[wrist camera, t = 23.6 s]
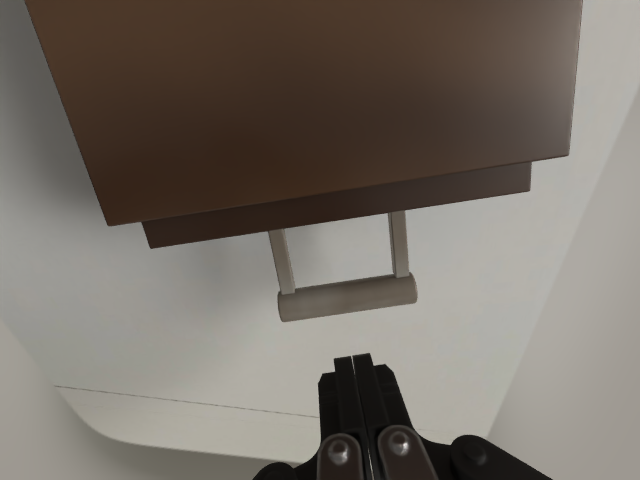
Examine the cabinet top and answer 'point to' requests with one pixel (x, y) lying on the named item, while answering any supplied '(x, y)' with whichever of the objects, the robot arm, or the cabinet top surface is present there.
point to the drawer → (334, 208)
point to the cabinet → (303, 94)
